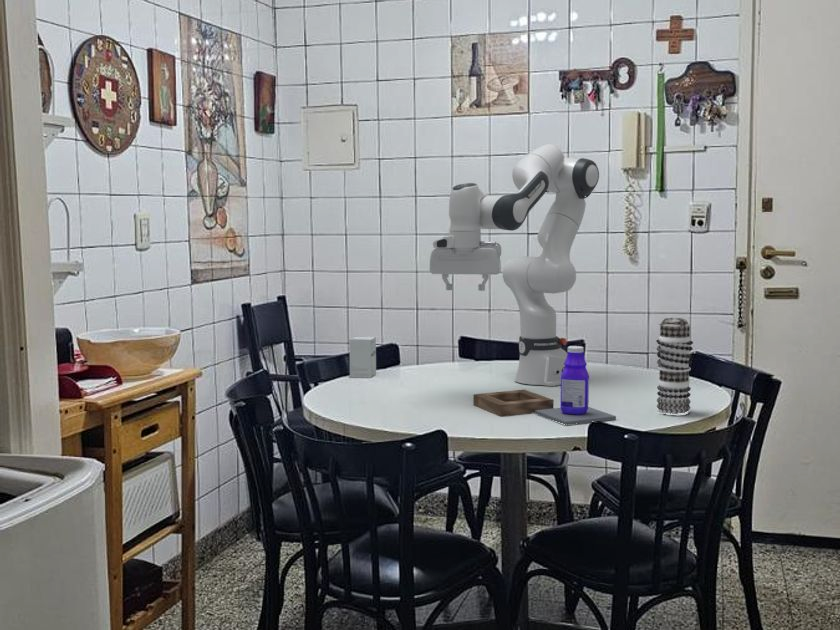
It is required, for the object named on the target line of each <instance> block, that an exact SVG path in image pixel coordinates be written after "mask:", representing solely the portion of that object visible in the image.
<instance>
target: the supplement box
mask: <svg viewBox="0 0 840 630" xmlns="http://www.w3.org/2000/svg"><path fill="white" fill-rule="evenodd" d="M348 340H349V341H348V343H349V347H348V348H349V378H356V379H357V378H358V379H359V378H360V379H361V378H362V379H363V378H364V379H371V378H372V377H373V376H375V375H377V339H376V336H354V337H352V338H350V339H348Z"/></svg>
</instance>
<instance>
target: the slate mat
mask: <svg viewBox="0 0 840 630" xmlns="http://www.w3.org/2000/svg"><path fill="white" fill-rule="evenodd" d="M534 414H535V415H536V414H538V415H537V416H539V415H540V416H539V417H541V416H543V417H542V418H544V417H545V418H544V419H547V418H548V419H547V420H549V419H551V420H550V421H552V420H554V421H557V422H560V423H563V424H565V425H566V424H576V423H585V424H591V423H590V422H592V421H603V422H610V421H616V420H617V416H616V415H614V414H610V413H608V412H605V411H603V410H598V409H596V408H594V407H593V408H592V407H591V406H588V410H587V412H586V413H585V414H582V415H577V414H566V413H563V412H562V411H561V407H555V408H554V407H553V409H543V410H535V413H534ZM554 421H553V422H554ZM557 422H556V423H557ZM560 423H559V424H560ZM565 425H564V426H565Z"/></svg>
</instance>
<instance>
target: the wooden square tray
mask: <svg viewBox="0 0 840 630" xmlns="http://www.w3.org/2000/svg"><path fill="white" fill-rule="evenodd" d="M472 399H473V400H472V401H473V406H475V407H478V408H480V409H483V410H484V411H487V412H490V413H491V414H494V415H497V416H498V417H499V416H500V417H506V416H507V415H509V416H516V414H518V415H523V414H522V413H527V414H533V413H532V412H535V410H543V409H553V408H554V402H555V401H554V399H553V398H549V397H547V396H543V395H541V394H539V393H535V392H533V391H530V390H527V389H516V390H506V391H505V390H504V391H495V392H494V391H493V392H485V393H483V392H482V393H475V394H473V397H472ZM507 417H508V416H507Z"/></svg>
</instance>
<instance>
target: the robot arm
mask: <svg viewBox="0 0 840 630" xmlns="http://www.w3.org/2000/svg"><path fill="white" fill-rule="evenodd" d="M511 175H512V181H513V184H514V186H515V187H516V188H517V189H518V191H517V192H516V193H512V194H499V195H498V194H497V195H496V194H495V195H494V194H493V195H492V194H491V195H490V194H487V193H485V192H484V191H482V190H481V189H480V188H479V185H478V184H477V183H474V182H473V183H472V182H467V183H461V184H456V185H455V186H453V187H452V188H451V191H450V193H449V194H450V195H449V203H448V204H449V206H448V214H449V215H448V216H449V221H450V225H449V229H448V230H449V231H448V232H449V234H448V236H447V235H446V236H443V237H441V238H439V239H436V240H433V242H432V248H434V249H433V250H432V251H431V252H430V257H429V271H430V273H431V274H432V275H441V279H442V281H443V282H444V284H445V289H446V290H445V291H453V283H450V281H449V279H448V278H449V276H450V275H478V276H480V275H482V276H481V278H482V280H483V281H482V282H481V283H478V284H477V285H478V287H477V288H478V291H479V292H481V291H482V292H484V291H485V290H486V289H485V287H486V283H487V282H488V280H489V276H490V275H492V276H493V275H494V276H495V275H499V274H500V273H501V271H502V278H503V279H502V280H503V282H504V284H505V285H506V286H507V287H508V288H509V289H510V291H511V292H512V294H513V296H514V297H515V300H516V302H517V306H518V309H519V319H520V322H519V323H520V336H519V338H518V351H519V360H518V366H517V367H518V368H517V373H516V377H515V380H514V381H515V382H516V383H520V384H522V385H523V384H525V385H533V386H548V387H556V385H557V386H561V374H562V372H563V369H564V367H565V365H564V362H565V360H566V358H567V352H568V351H566V350H564V349H563V348H562V345H564V346H566V345H567V344H568V342H569V341H568V339H567V338H565V337H561V338H560V337H559V336H557V313H556V310H555V308H553V307H552V306H551V305H550V304H549V303H548V301H547V299H546V296H545V294H560V293H565V292H568V291H570V290H571V289H572V288H573V287H574V285H575V282H576V280H577V271H576V268H575V266H574V264H573V263H572V261H571V257H570V255H571V254H570V253H571V249H572V246H573V243H574V241H575V239H576V236H577V234H578V231H579V229H580V227H581V224H582V221H583V218H584V214H585V211H586V210H585V209H586V204H587V203H586V199H587V198H588V197H589V196H590V195H591V194H592V192H593V191H595V188H596V187H597V185H598V182H599V179H600V170H599V168H598V165H597V163H596V162H595V161H593V160H592V159H588V158H585V157H584V158H583V157H581V158H578V157H565V155H564V152H563V151H562V150H561V149H560V148H559V147H558V146H556V145H555V144H551V143H546V144H543V145H541V146H538V147H537V148H534V149H533V150H531V151H530V152H528V153H527V154H526V155H525V156H523V157H522V158H520V159H519V160H518V161H517V163H516V164H515V165H514V167H513V168H512V174H511ZM546 193H555V200H554V201H553V203H552V205H551V206H550V208H549V210H548V211H547V213H546V216H545V218H544V220H543V222H542V224H541V226H540V228H539V231H538V233H537V242H538V244H539V246H540V247H541V248H542V252H541V254H540V255H539V256H524V255H523V256H517V257H513V258H510V259H508V260H507V261H506V263H505V264H504V266H503V269H502V264H501V263H502V262H501V256H502V246H501V244H500V243H498V242H496V241H481V240H482V239H481V237H482V236H481V235H482V232H481V231H482V230H504V231H516V230H518V229H520V227H521V226H522V225H523V224H524V222H525V221H526V218H527V217H528V214H529V213H530V211H532V210H533V208H534V207H535V205H537V203H538V202H539V200H541V198H543V196H544V195H545V194H546ZM481 229H482V230H481Z"/></svg>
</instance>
